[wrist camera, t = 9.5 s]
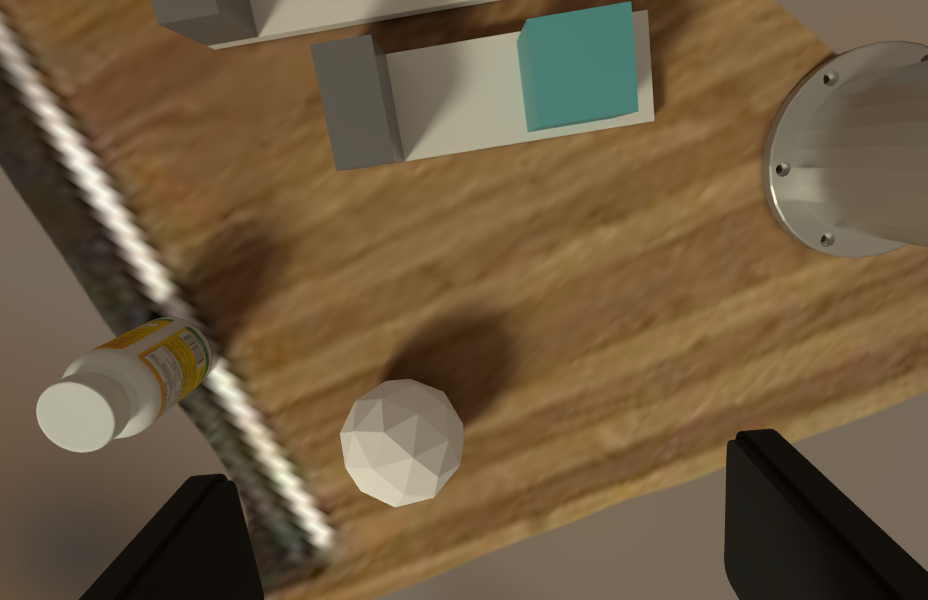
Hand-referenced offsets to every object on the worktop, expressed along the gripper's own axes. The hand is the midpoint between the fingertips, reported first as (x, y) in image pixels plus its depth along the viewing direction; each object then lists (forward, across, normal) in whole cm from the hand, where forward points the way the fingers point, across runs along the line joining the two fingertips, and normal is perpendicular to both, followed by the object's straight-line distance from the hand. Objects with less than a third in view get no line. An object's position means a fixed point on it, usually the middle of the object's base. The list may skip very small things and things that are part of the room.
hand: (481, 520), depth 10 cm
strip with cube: (+26, -2, -10) cm, 28 cm away
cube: (+25, -6, -10) cm, 27 cm away
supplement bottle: (+25, +21, +4) cm, 33 cm away
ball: (+26, +6, +10) cm, 28 cm away
